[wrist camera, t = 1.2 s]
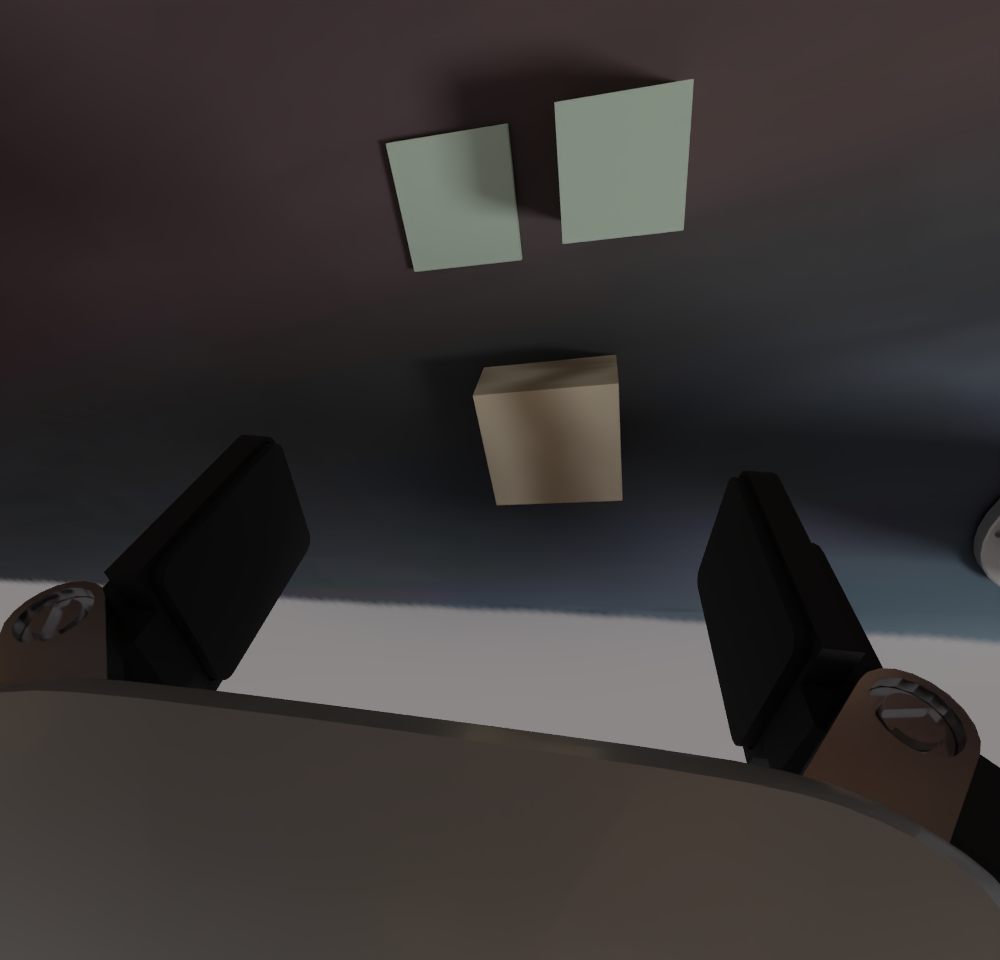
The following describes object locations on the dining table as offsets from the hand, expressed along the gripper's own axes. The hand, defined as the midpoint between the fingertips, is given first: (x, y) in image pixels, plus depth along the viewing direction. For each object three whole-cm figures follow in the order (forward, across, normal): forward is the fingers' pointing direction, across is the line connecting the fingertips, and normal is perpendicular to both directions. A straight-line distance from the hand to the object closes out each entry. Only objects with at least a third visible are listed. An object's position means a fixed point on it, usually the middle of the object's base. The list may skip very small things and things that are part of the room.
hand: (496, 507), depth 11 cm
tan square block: (+21, -1, +10) cm, 23 cm away
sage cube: (+21, -3, -4) cm, 21 cm away
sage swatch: (+21, +5, -2) cm, 21 cm away
